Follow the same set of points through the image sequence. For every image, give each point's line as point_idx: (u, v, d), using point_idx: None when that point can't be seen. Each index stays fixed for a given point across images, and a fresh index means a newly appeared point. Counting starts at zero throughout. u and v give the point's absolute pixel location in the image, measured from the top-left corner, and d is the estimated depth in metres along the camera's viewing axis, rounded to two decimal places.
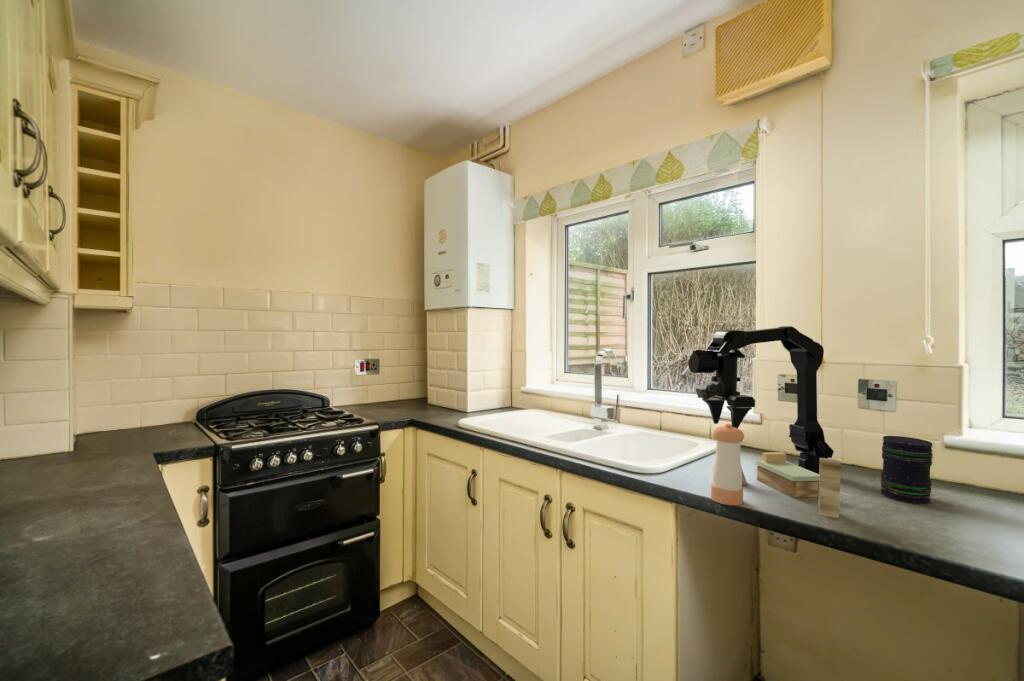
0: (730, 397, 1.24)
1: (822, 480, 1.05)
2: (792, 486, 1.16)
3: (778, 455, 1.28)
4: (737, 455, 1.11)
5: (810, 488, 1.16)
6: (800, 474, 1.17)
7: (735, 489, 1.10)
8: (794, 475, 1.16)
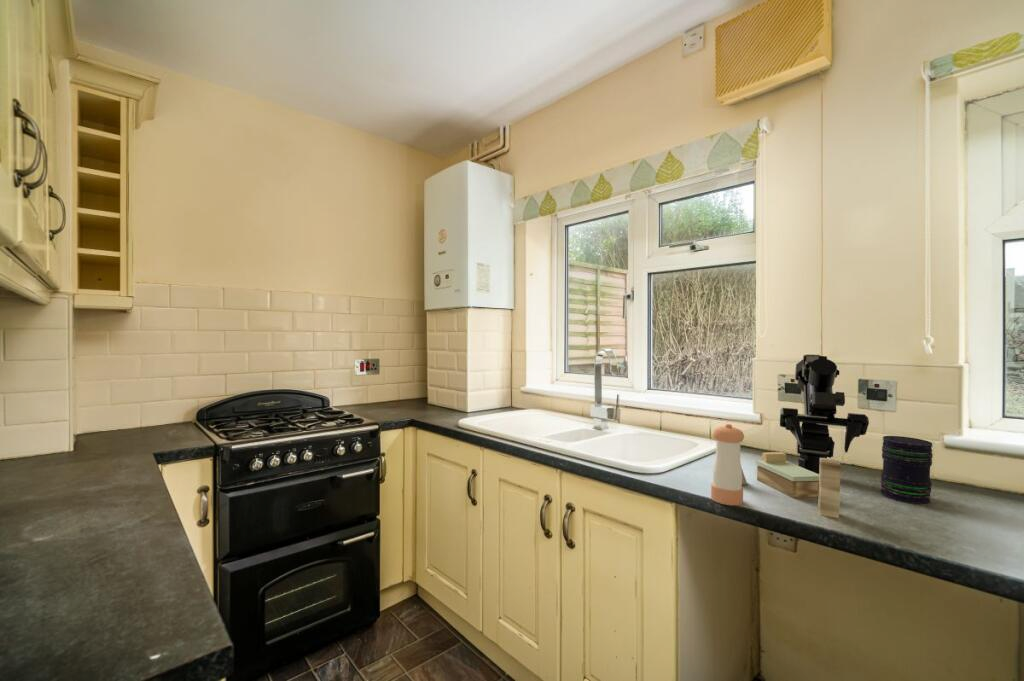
0: (853, 413, 1.14)
1: (822, 480, 1.05)
2: (792, 486, 1.16)
3: (778, 455, 1.28)
4: (737, 455, 1.11)
5: (810, 488, 1.16)
6: (800, 474, 1.17)
7: (735, 489, 1.10)
8: (794, 475, 1.16)
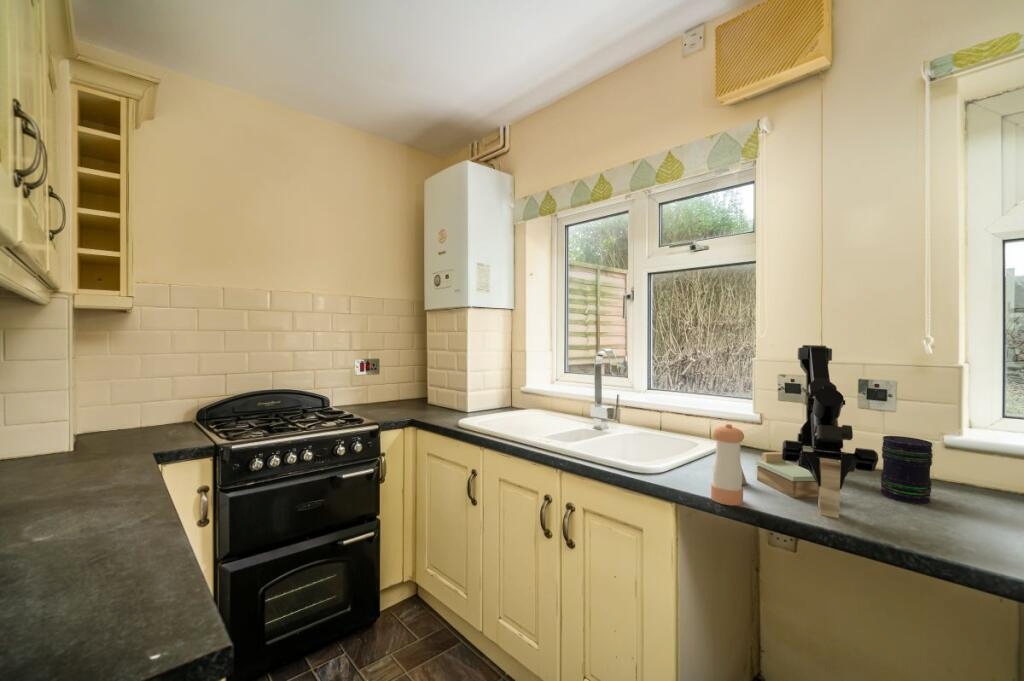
0: (862, 449, 1.05)
1: (822, 480, 1.05)
2: (792, 486, 1.16)
3: (778, 455, 1.28)
4: (737, 455, 1.11)
5: (810, 488, 1.16)
6: (800, 474, 1.17)
7: (735, 489, 1.10)
8: (794, 475, 1.16)
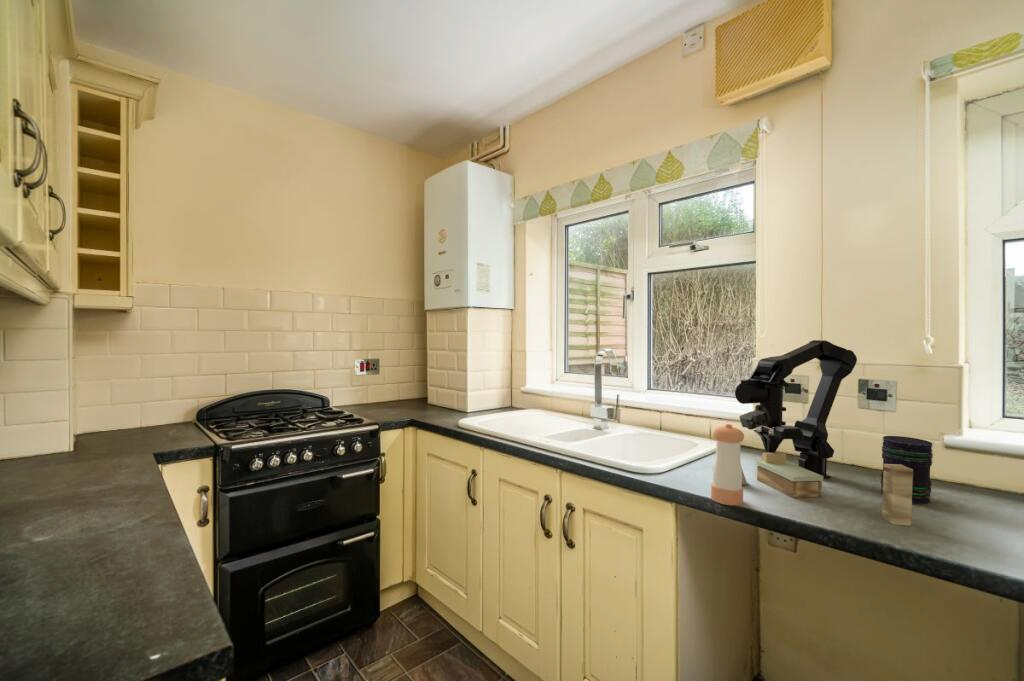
0: (777, 428, 1.23)
1: (895, 488, 1.00)
2: (792, 486, 1.16)
3: (778, 455, 1.28)
4: (737, 455, 1.11)
5: (810, 488, 1.16)
6: (800, 474, 1.17)
7: (735, 489, 1.10)
8: (794, 475, 1.16)
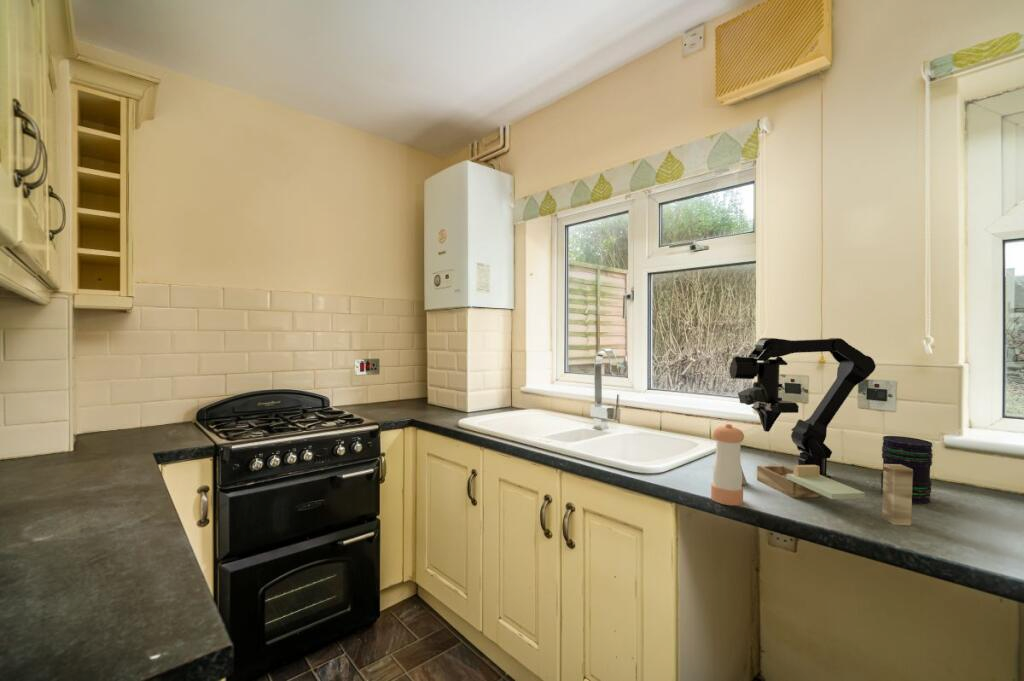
0: (774, 403, 1.29)
1: (895, 488, 1.00)
2: (792, 486, 1.16)
3: (811, 468, 1.16)
4: (737, 455, 1.11)
5: None
6: (839, 490, 1.05)
7: (735, 489, 1.10)
8: (832, 492, 1.04)
